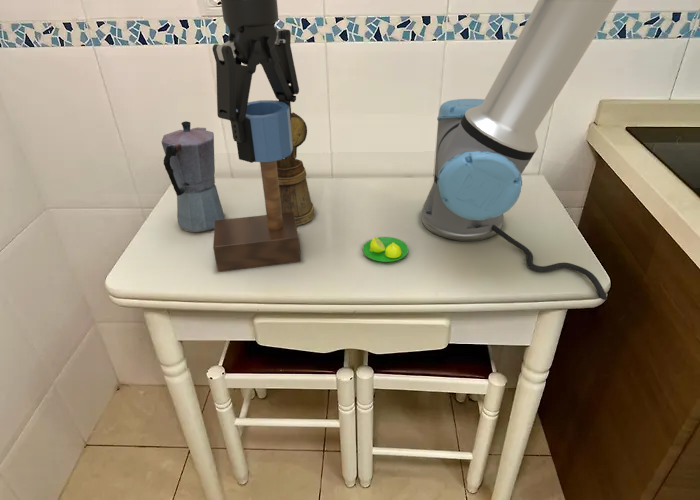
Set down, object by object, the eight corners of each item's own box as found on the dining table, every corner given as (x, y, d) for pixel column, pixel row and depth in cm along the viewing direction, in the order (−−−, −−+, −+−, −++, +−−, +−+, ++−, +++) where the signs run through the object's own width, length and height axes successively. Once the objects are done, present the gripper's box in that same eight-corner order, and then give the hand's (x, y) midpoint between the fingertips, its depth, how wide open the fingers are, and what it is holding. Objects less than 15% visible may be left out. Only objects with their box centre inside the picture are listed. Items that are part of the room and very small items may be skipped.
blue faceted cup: (302, 148, 83) (299, 105, 79) (268, 166, 78) (263, 121, 74) (264, 138, 87) (259, 97, 83) (229, 155, 82) (222, 111, 78)
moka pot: (238, 205, 107) (222, 110, 96) (212, 245, 94) (191, 141, 83) (193, 203, 108) (173, 109, 97) (162, 243, 96) (135, 140, 85)
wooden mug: (321, 195, 110) (316, 112, 100) (310, 227, 99) (303, 137, 89) (280, 194, 111) (271, 111, 101) (265, 226, 100) (253, 136, 90)
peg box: (295, 235, 97) (286, 142, 87) (300, 261, 89) (291, 163, 79) (219, 243, 95) (201, 149, 85) (218, 271, 87) (198, 172, 77)
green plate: (363, 265, 88) (363, 251, 86) (361, 240, 95) (361, 227, 93) (410, 263, 88) (411, 250, 87) (405, 239, 95) (406, 225, 93)
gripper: (277, -18, 79) (290, 126, 91) (167, 0, 64) (200, 169, 77) (316, -16, 75) (324, 134, 88) (209, 4, 61) (237, 180, 73)
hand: (266, 150), depth 82 cm, fingers closed on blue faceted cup, 8 cm apart
